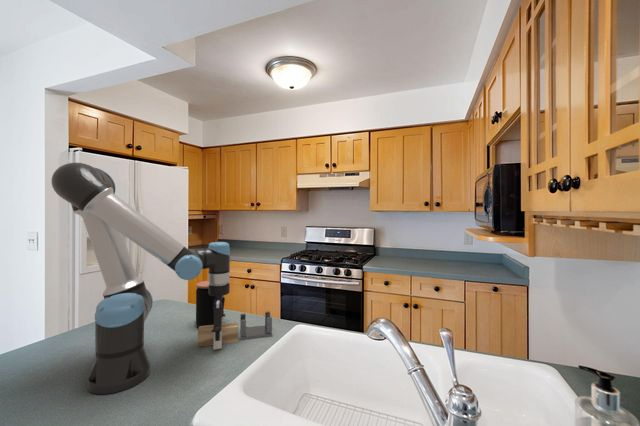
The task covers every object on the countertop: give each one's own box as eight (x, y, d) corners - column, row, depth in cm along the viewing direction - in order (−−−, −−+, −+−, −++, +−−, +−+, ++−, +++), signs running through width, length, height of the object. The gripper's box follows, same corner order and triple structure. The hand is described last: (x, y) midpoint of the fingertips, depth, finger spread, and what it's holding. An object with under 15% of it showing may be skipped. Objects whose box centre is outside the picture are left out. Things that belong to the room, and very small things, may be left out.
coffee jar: (216, 329, 117) (217, 286, 117) (191, 329, 117) (191, 286, 117) (225, 320, 127) (226, 280, 127) (202, 319, 128) (202, 280, 128)
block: (237, 342, 106) (237, 326, 106) (197, 347, 103) (197, 330, 102) (238, 338, 110) (238, 322, 110) (199, 342, 106) (199, 326, 106)
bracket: (272, 336, 111) (272, 318, 111) (240, 339, 108) (240, 321, 108) (269, 327, 120) (269, 310, 120) (240, 330, 117) (240, 313, 117)
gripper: (228, 291, 96) (228, 355, 96) (230, 275, 119) (230, 327, 119) (204, 292, 94) (204, 358, 94) (211, 276, 117) (211, 329, 117)
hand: (218, 341), depth 106 cm, fingers open, 11 cm apart
